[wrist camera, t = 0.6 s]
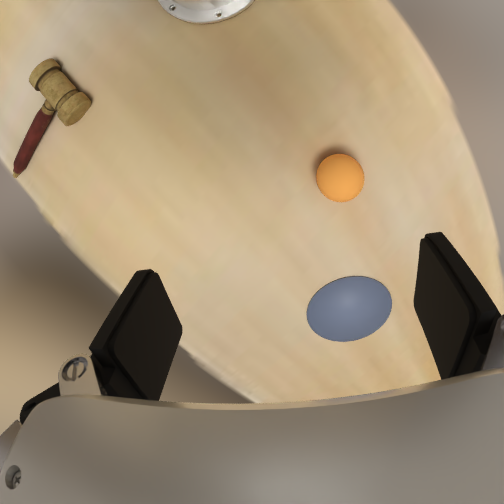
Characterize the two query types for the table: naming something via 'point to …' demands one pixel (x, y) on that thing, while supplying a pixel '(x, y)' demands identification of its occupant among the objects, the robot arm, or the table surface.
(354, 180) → the ball
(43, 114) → the gavel
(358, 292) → the disc
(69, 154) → the table surface
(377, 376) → the table surface
